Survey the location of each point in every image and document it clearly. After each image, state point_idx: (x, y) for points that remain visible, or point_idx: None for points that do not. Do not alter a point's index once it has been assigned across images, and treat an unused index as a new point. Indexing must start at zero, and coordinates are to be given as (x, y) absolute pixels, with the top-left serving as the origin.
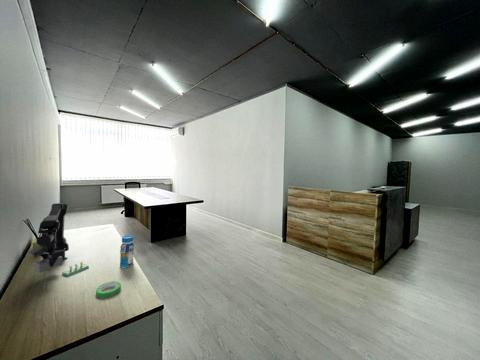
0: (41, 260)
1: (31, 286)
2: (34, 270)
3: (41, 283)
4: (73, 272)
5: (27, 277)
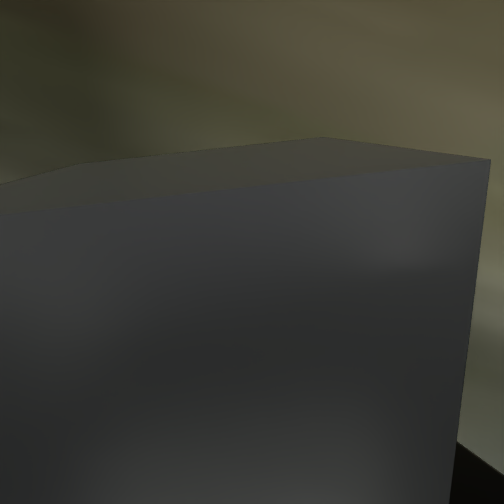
0: (394, 458)
1: (15, 4)
2: (315, 139)
3: (19, 140)
4: None
5: (452, 99)
